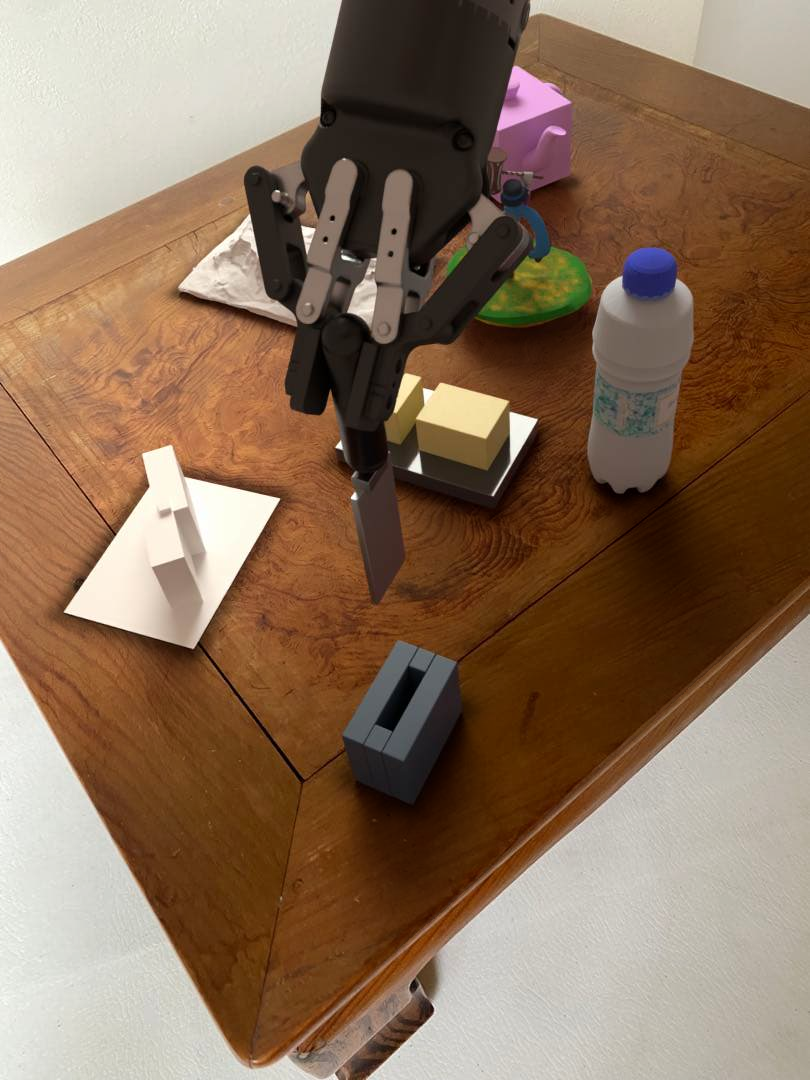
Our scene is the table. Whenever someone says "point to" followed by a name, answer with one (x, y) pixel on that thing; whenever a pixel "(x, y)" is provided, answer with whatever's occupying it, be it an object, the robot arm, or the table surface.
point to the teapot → (534, 130)
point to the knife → (364, 459)
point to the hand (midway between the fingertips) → (334, 419)
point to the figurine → (530, 263)
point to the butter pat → (405, 408)
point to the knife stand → (404, 721)
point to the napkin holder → (173, 555)
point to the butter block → (463, 425)
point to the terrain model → (259, 279)
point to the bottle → (639, 370)
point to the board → (461, 464)
